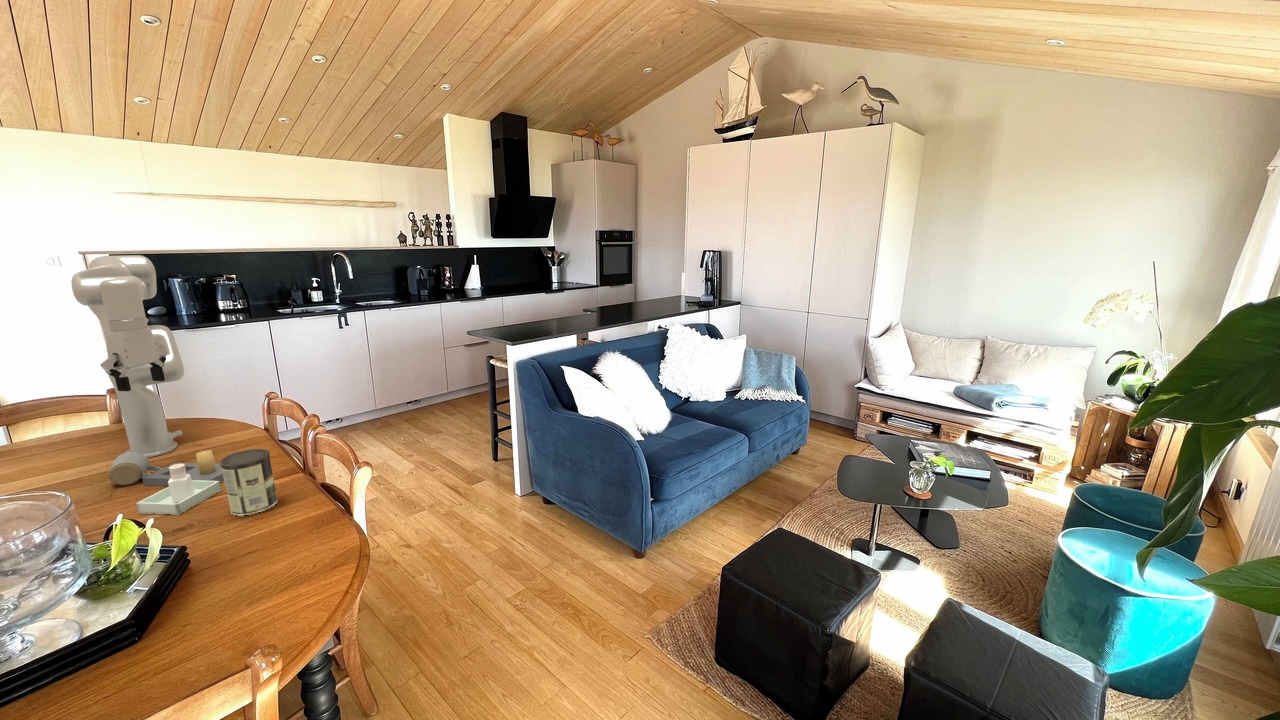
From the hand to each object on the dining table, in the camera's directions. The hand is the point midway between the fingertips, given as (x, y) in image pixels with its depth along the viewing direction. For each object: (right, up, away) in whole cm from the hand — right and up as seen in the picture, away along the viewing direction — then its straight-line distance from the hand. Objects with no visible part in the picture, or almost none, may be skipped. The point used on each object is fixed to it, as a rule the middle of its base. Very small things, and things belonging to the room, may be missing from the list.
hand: (142, 385), depth 145 cm
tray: (+16, -31, -6) cm, 35 cm away
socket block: (+8, -27, +7) cm, 29 cm away
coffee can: (+37, -32, -8) cm, 49 cm away
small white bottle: (+17, -30, -6) cm, 35 cm away
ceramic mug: (-7, -28, +7) cm, 30 cm away
